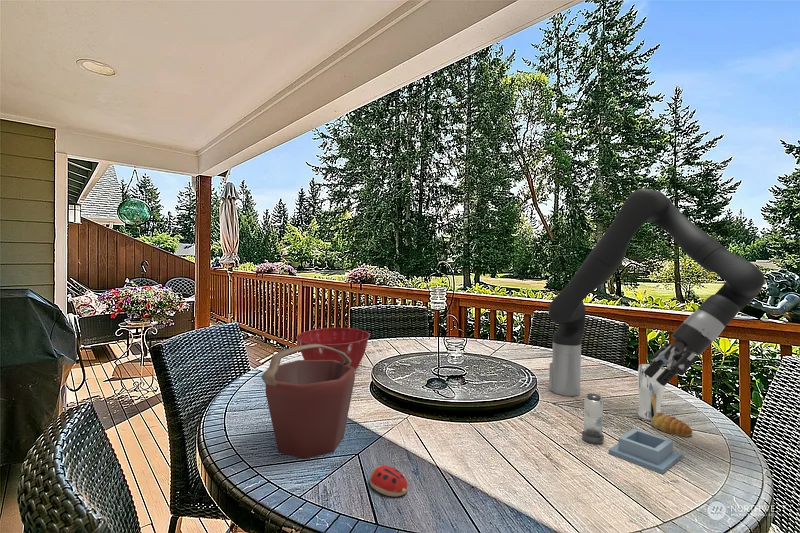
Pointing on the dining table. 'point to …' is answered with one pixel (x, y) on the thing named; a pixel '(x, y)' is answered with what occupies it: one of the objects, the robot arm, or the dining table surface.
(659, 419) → the pastry
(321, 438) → the bucket
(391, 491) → the ladybug figurine
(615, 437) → the dining table surface
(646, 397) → the beer glass
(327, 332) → the mixing bowl
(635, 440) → the dock
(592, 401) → the thermos
